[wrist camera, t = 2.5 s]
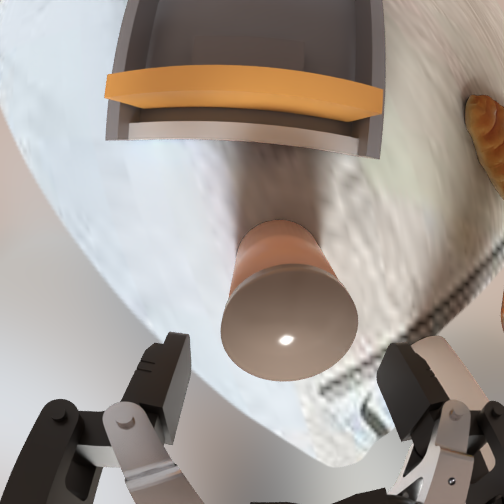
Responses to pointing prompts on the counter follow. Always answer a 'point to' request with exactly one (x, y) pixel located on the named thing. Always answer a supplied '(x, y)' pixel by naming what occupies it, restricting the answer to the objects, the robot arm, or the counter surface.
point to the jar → (286, 306)
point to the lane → (258, 25)
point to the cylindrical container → (454, 379)
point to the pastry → (487, 136)
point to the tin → (502, 313)
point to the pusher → (246, 81)
